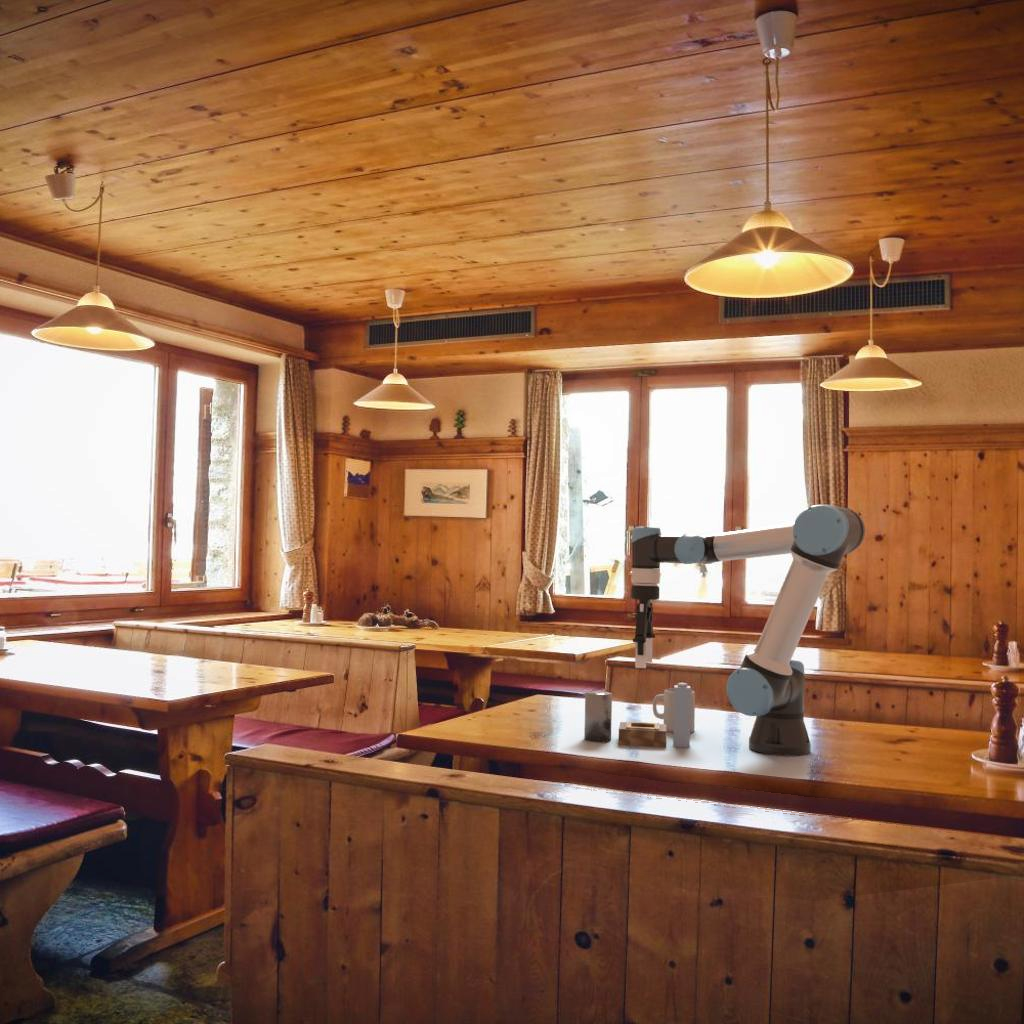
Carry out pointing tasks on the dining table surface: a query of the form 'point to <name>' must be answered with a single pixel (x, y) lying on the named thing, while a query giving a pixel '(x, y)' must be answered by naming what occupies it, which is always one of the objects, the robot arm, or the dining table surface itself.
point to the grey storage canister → (598, 716)
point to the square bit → (681, 715)
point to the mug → (669, 709)
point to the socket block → (642, 734)
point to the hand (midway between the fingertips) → (643, 665)
